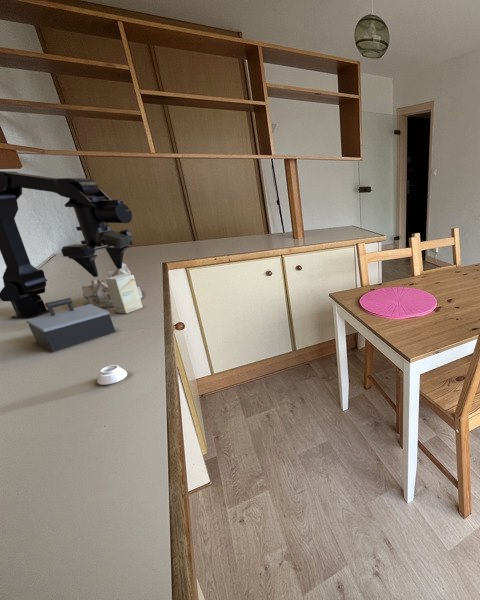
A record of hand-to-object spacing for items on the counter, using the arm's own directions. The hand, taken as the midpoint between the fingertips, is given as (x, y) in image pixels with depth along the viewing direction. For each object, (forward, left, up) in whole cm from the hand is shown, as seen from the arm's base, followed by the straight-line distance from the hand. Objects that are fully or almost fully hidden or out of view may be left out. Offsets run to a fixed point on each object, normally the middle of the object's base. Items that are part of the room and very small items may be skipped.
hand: (108, 272), depth 99 cm
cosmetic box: (0, +4, -15) cm, 15 cm away
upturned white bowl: (+26, -37, -15) cm, 47 cm away
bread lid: (-1, -16, -9) cm, 18 cm away
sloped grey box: (0, -16, -15) cm, 22 cm away
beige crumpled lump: (-12, +14, -15) cm, 24 cm away
